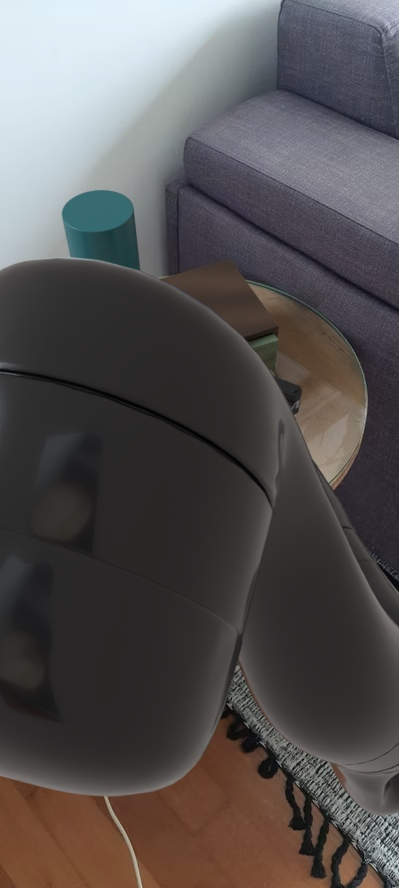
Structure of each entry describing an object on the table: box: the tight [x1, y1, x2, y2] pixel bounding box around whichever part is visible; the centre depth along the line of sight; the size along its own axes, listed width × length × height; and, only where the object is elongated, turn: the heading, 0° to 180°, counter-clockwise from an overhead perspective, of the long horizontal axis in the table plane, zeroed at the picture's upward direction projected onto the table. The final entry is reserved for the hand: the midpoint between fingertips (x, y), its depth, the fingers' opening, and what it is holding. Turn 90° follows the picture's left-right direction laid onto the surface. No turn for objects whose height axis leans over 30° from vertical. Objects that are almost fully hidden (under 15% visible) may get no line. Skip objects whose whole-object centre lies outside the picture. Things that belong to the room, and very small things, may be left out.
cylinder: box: [61, 189, 141, 271], centre depth 62 cm, size 6×6×12 cm
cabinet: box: [159, 258, 280, 341], centre depth 85 cm, size 14×13×9 cm
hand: (187, 348), depth 59 cm, fingers closed
